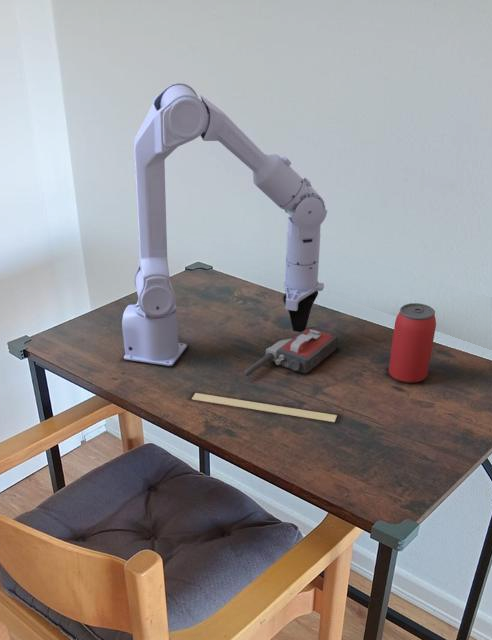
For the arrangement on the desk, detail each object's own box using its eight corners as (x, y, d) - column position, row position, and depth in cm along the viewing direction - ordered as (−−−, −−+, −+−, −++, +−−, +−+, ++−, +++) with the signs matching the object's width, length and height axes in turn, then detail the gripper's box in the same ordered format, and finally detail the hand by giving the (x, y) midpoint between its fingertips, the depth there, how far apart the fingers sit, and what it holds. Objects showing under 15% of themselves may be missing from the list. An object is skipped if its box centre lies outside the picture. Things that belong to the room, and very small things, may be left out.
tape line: (191, 399, 125) (191, 398, 125) (195, 393, 126) (195, 392, 126) (334, 422, 118) (334, 421, 118) (337, 415, 120) (337, 415, 120)
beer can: (430, 369, 130) (442, 305, 123) (422, 388, 126) (433, 322, 118) (393, 362, 133) (402, 299, 125) (383, 380, 128) (392, 315, 121)
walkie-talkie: (301, 334, 142) (240, 379, 129) (302, 312, 139) (239, 356, 127) (342, 346, 138) (283, 394, 125) (344, 324, 135) (283, 371, 122)
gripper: (315, 277, 124) (311, 351, 133) (333, 246, 135) (328, 315, 143) (274, 273, 126) (273, 346, 134) (295, 242, 137) (292, 311, 145)
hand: (299, 330), depth 139 cm, fingers closed, pressing on walkie-talkie
